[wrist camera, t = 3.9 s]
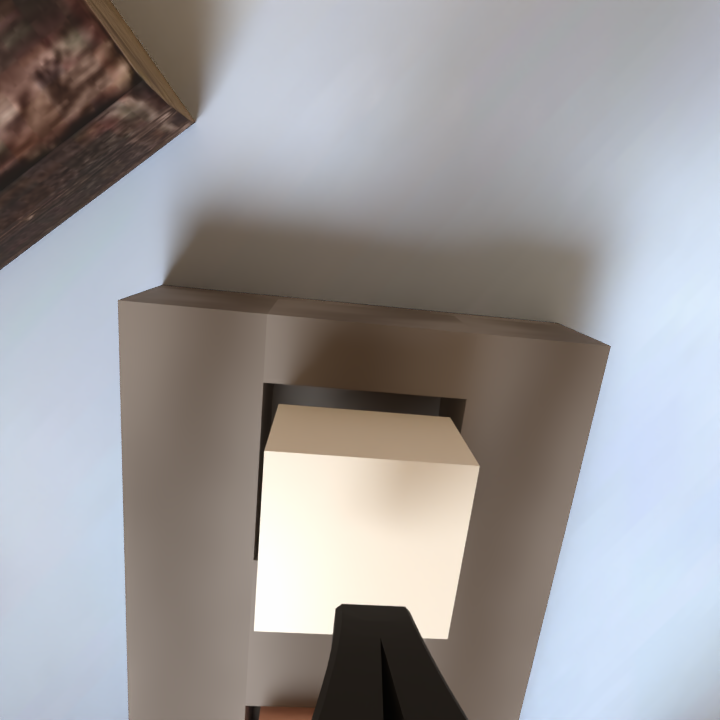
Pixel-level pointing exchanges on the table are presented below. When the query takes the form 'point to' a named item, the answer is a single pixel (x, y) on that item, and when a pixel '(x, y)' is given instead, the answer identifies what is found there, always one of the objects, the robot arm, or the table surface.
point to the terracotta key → (285, 713)
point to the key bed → (245, 476)
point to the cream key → (361, 517)
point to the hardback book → (72, 112)
